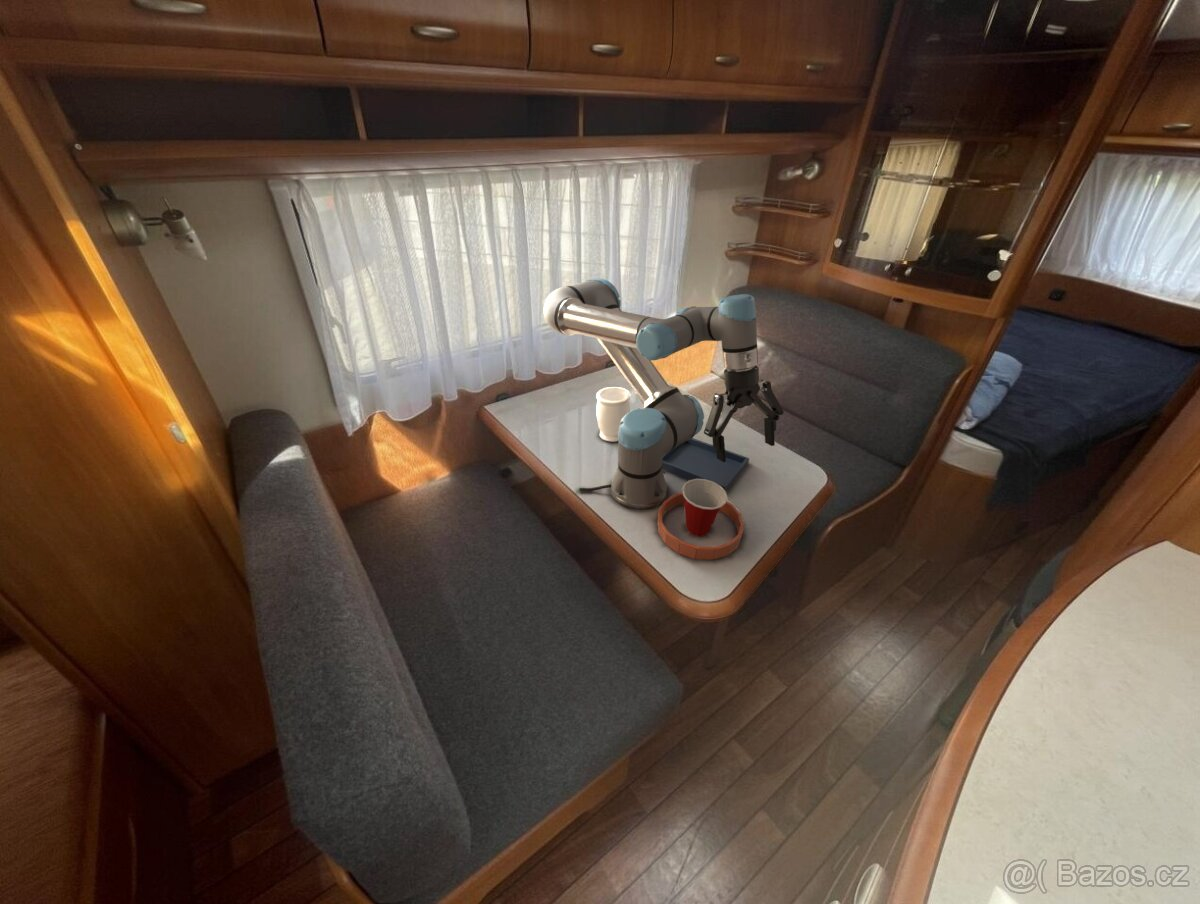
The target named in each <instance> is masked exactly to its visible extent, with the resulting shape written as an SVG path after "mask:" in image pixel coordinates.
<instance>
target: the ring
mask: <svg viewBox="0 0 1200 904" xmlns="http://www.w3.org/2000/svg"><path fill="white" fill-rule="evenodd" d="M682 505H684V497H683V493H682V492H680V493H676V494H673V495H672V496H670V497H669V498H667V499H666V500H663V501H662V504H661V506H660V507H659V509H658V512H657V520H656V521H657V533H658V535H659V536H660V538H661V539H662V541H663V543H664V545H666V546H667V547H668V548H670V549H671V550H673V551H674V552H676V553H677V554H679V555H682V556H684V557H687V558H691V559H692V560H693V559H694V560H705V561H706V560H708V561H714V560H717V559H720V558H724V557H727V556H730V555H731V554H732V553H733V552H734V551H736V550H737V549H738V547H739V545H740V543H741V540H742V537H743V534H744V529H745V523H744V519H743V516H742V513H741V512H740V511H739V510H738V509H737V508H736V506H735V505H734V504H733V503H731V502H730V501H728V500H727V501H726V504H724V505H723V506H722V507H721V509H720V510H719V512H722V513H723V514H726V515H727V517H728V518H730V519H731V521H732V522H733V523H734V524H735V527H736V531H737V535H736V536H734V537H733V538H732V539H730V541H728V542H727V543H723V544H719V545H716V546H697V545H694V544H692V543H688V542H686V541H683V540H680V539H679V538H677V536H675V535H674V534H672V533H670V531H669V530H668V528H667V527H666V526H665V524H664V523H663V519H664V516H665V515H666V513H668V512H669V511H670V510H672V509H674V508H675V507H678V506H682Z"/></svg>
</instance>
